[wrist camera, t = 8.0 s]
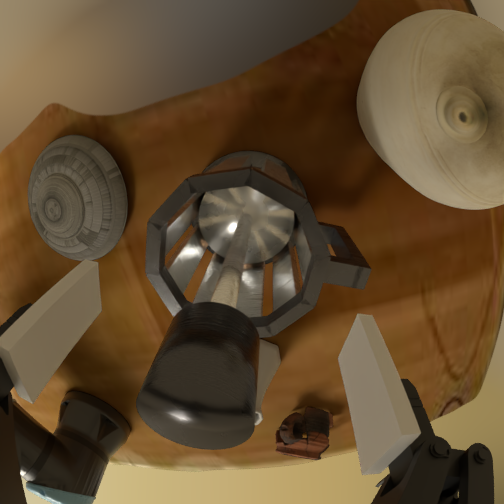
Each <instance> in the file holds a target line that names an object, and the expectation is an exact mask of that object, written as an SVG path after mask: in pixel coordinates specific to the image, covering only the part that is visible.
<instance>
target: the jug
mask: <svg viewBox="0 0 504 504" xmlns="http://www.w3.org/2000/svg"><path fill="white" fill-rule="evenodd" d="M357 114H358V119H359V123H360V126H361V128H362V130H363V133H364V135H365V137H366V139H367V140H368V142H369V143H370V145H371V146H372V148H373V149H374V150H375V151H376V153H377V154H378V155H379V156H380V158H381V159H382V160H383V161H384V162H385V163H386V164H387V165H389V166H390V167H391V168H392V169H393V170H394V171H395V172H396V173H397V174H398V175H399V176H400V177H401V178H402V179H403V180H405V181H406V182H407V183H408V184H409V185H411V186H412V187H413V188H414V189H416V190H417V191H418V192H420V193H421V194H423V195H424V196H426V197H428V198H430V199H432V200H434V201H436V202H439V203H442V204H445V205H448V206H452V207H456V208H462V209H487V208H492V207H496V206H499V205H502V204H504V32H503V31H502V30H501V29H499V28H498V27H496V26H495V25H493V24H492V23H490V22H488V21H486V20H484V19H482V18H480V17H478V16H475V15H472V14H469V13H465V12H460V11H455V10H445V9H437V10H428V11H424V12H420V13H417V14H414V15H412V16H409V17H407V18H405V19H403V20H402V21H400V22H398V23H397V24H396V25H394V26H393V27H392V28H390V29H389V30H388V31H387V32H386V33H385V34H384V35H383V36H382V38H381V39H380V40H379V42H378V43H377V45H376V47H375V48H374V50H373V52H372V54H371V56H370V57H369V59H368V61H367V64H366V66H365V69H364V72H363V74H362V77H361V81H360V85H359V88H358V93H357Z"/></svg>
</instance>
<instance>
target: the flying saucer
mask: <svg viewBox="0 0 504 504" xmlns="http://www.w3.org/2000/svg"><path fill="white" fill-rule="evenodd" d="M28 204H29V210H30V214H31V218H32V221H33V223H34V225H35V227H36V229H37V231H38V233H39V234H40V236H41V237H42V239H43V240H44V241H45V242H46V243H47V244H48V245H49V246H50V247H51V248H52V249H53V250H55V251H56V252H58V253H59V254H61V255H63V256H65V257H67V258H70V259H73V260H78V261H83V260H85V259H86V260H90V261H91V260H95V259H98V258H101V257H103V256H104V255H106V254H107V253H108V252H110V251H111V250H112V249H113V248H114V247H115V245H116V244H117V242H118V241H119V239H120V237H121V235H122V233H123V230H124V227H125V223H126V219H127V208H128V203H127V192H126V187H125V183H124V179H123V177H122V174H121V171H120V169H119V167H118V165H117V163H116V162H115V160H114V159H113V157H112V156H111V155H110V153H109V152H108V151H107V150H106V149H105V148H104V147H103V146H102V145H100V144H99V143H98V142H96V141H94V140H93V139H90V138H88V137H85V136H81V135H68V136H64V137H61V138H58V139H56V140H55V141H53V142H52V143H50V144H49V145H48V146H47V147H46V148H45V149H44V150H43V151H42V153H41V154H40V155H39V157H38V159H37V160H36V162H35V164H34V167H33V169H32V172H31V175H30V179H29V185H28Z"/></svg>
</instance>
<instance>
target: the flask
mask: <svg viewBox="0 0 504 504" xmlns="http://www.w3.org/2000/svg"><path fill="white" fill-rule="evenodd" d="M280 363H281V359H280V353H279V348H278V346H277V345H274V344H272V343H269V342H267V341H265V340H262V339H260V351H259V367H258V383H257V398H256V413H255V425H258V424H259V423H260V422H261V421H262V420H263V415H262V411H261V404H262V401H263V398H264V394H265V392H266V390H267V388H268V386H269V384H270V382H271V380H272V378H273V376H274V374H275V373H276V371H277V369H278V367H279V365H280Z"/></svg>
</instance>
